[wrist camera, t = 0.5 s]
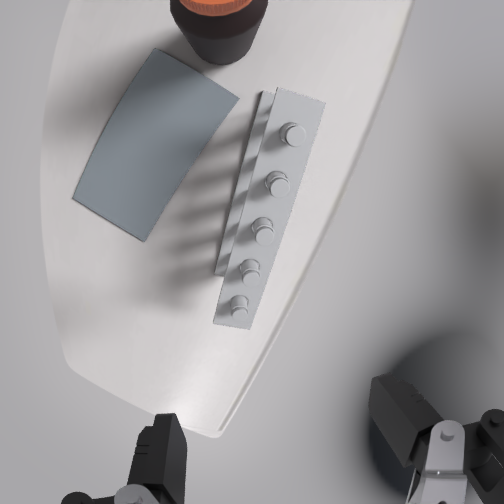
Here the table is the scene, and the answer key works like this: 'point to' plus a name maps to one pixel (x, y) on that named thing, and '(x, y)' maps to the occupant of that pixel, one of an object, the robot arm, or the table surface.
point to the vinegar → (219, 26)
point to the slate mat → (152, 143)
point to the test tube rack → (264, 200)
